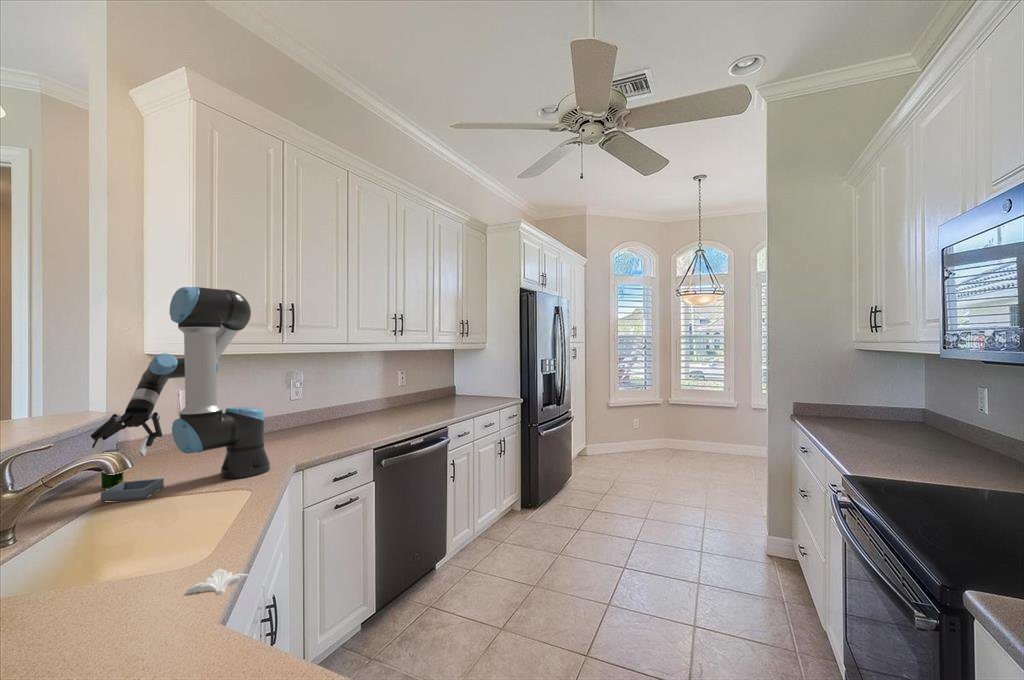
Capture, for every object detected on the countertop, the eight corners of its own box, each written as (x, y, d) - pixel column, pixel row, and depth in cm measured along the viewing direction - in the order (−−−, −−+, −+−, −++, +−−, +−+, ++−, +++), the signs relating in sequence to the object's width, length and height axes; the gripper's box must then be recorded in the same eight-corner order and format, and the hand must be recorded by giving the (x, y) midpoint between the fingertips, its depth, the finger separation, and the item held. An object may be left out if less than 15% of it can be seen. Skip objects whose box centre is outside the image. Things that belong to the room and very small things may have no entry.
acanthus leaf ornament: (186, 597, 82) (185, 587, 82) (214, 577, 89) (213, 568, 89) (224, 598, 82) (224, 587, 82) (249, 578, 89) (249, 568, 89)
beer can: (99, 491, 141) (98, 453, 141) (103, 487, 145) (102, 450, 145) (122, 488, 144) (121, 451, 144) (125, 483, 148) (124, 447, 148)
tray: (163, 487, 144) (163, 478, 144) (144, 499, 133) (144, 489, 133) (123, 490, 141) (123, 481, 141) (100, 503, 130) (100, 492, 130)
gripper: (184, 408, 169) (165, 458, 155) (106, 412, 163) (78, 464, 149) (177, 396, 164) (156, 446, 149) (96, 399, 158) (66, 452, 143)
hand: (117, 455), depth 149 cm, fingers open, 13 cm apart
